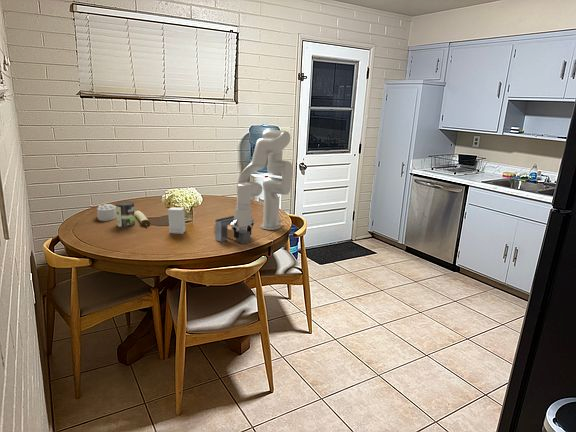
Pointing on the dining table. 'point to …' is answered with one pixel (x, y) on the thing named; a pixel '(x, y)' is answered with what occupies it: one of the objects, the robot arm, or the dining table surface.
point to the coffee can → (125, 214)
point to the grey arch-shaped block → (223, 228)
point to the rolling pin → (142, 218)
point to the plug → (243, 235)
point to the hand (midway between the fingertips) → (242, 236)
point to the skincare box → (176, 220)
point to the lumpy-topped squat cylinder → (106, 212)
